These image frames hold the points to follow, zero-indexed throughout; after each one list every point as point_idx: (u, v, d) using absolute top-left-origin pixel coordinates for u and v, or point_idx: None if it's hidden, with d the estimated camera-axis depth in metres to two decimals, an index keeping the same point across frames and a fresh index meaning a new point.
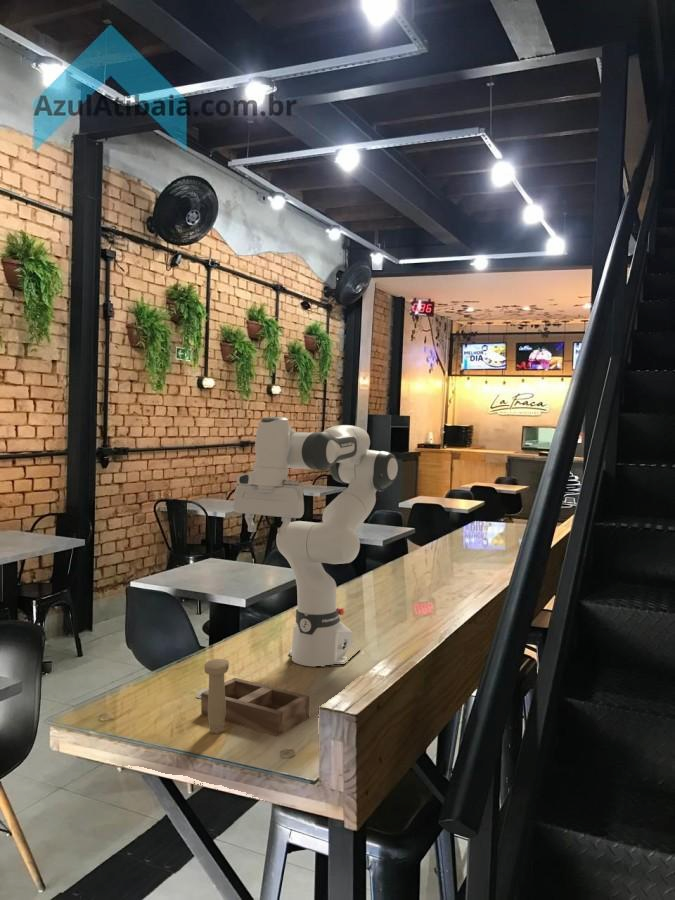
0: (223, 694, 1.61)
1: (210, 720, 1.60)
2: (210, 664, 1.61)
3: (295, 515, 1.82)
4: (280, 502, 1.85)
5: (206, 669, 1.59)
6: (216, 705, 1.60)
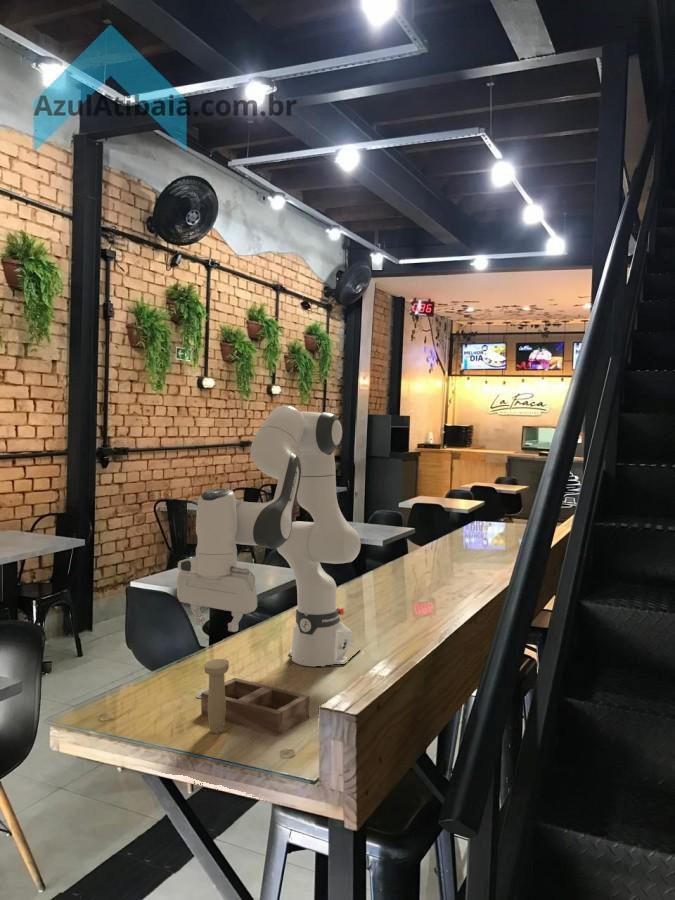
0: (223, 694, 1.61)
1: (210, 720, 1.60)
2: (210, 664, 1.61)
3: (246, 611, 1.54)
4: (229, 594, 1.56)
5: (206, 669, 1.59)
6: (216, 705, 1.60)
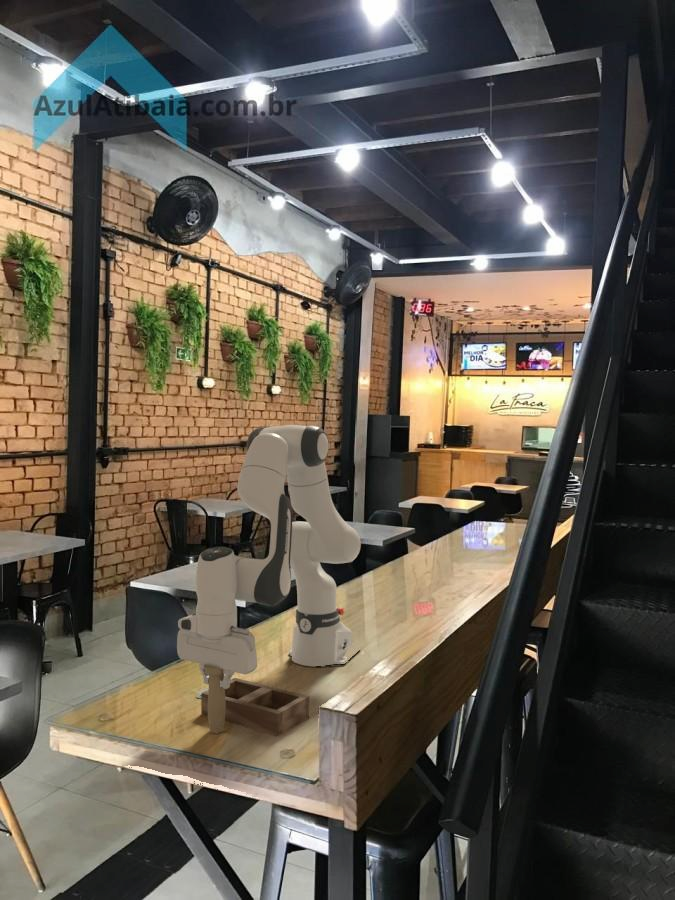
0: (223, 694, 1.61)
1: (210, 720, 1.60)
2: None
3: (246, 671, 1.55)
4: (229, 654, 1.57)
5: (206, 669, 1.59)
6: (216, 705, 1.60)
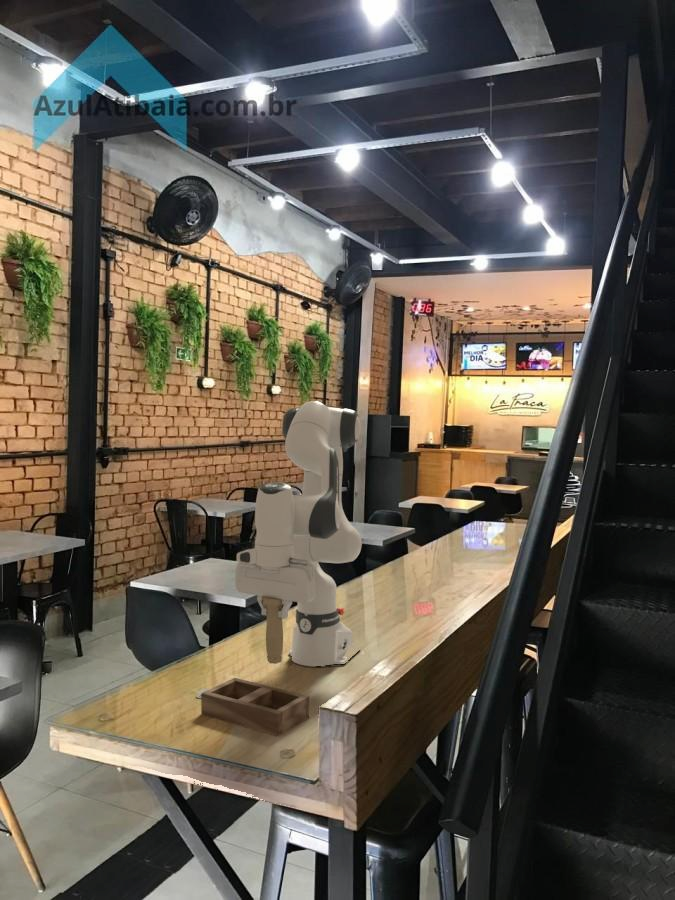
0: (281, 625, 1.66)
1: (269, 650, 1.65)
2: None
3: (306, 600, 1.60)
4: (288, 584, 1.62)
5: (265, 600, 1.63)
6: (274, 635, 1.65)
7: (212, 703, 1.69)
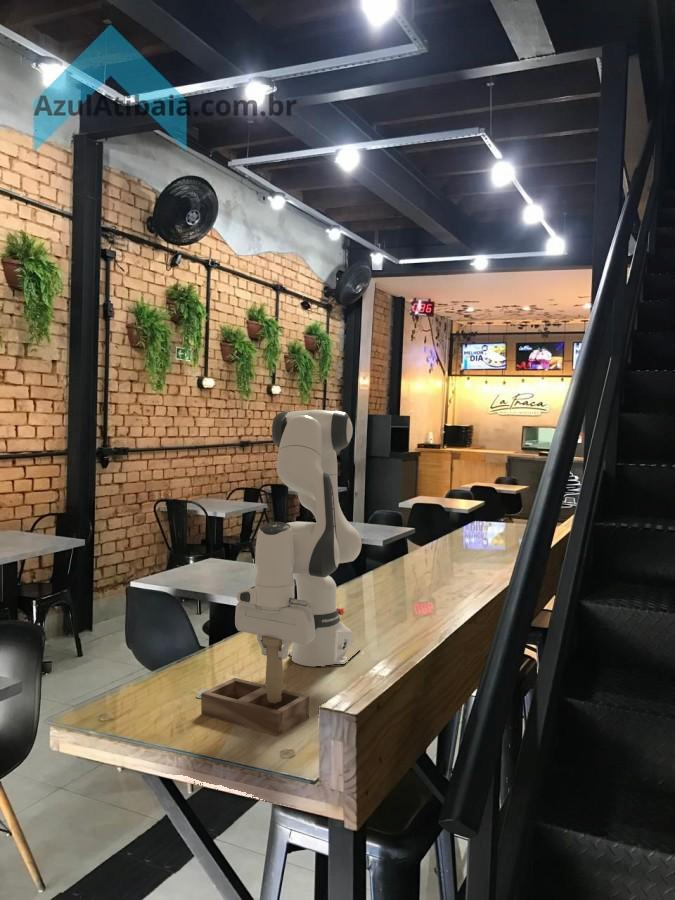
0: (281, 665, 1.66)
1: (268, 690, 1.65)
2: None
3: (306, 641, 1.60)
4: (288, 624, 1.62)
5: (265, 640, 1.64)
6: (274, 675, 1.65)
7: (212, 703, 1.69)
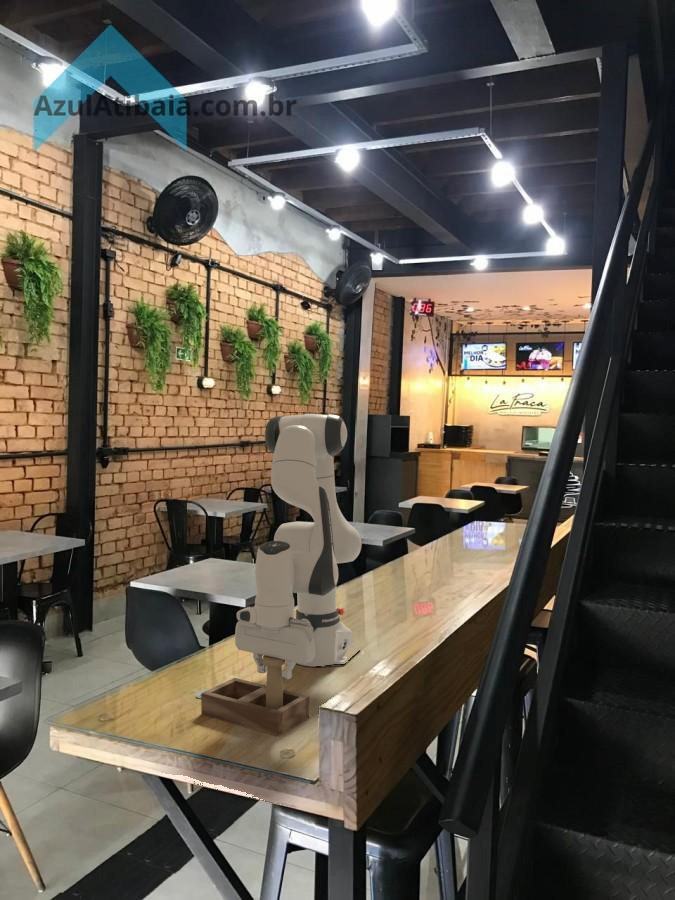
0: (281, 685, 1.66)
1: None
2: (268, 656, 1.66)
3: (306, 661, 1.60)
4: (288, 644, 1.62)
5: (265, 661, 1.64)
6: (274, 695, 1.65)
7: (212, 703, 1.69)
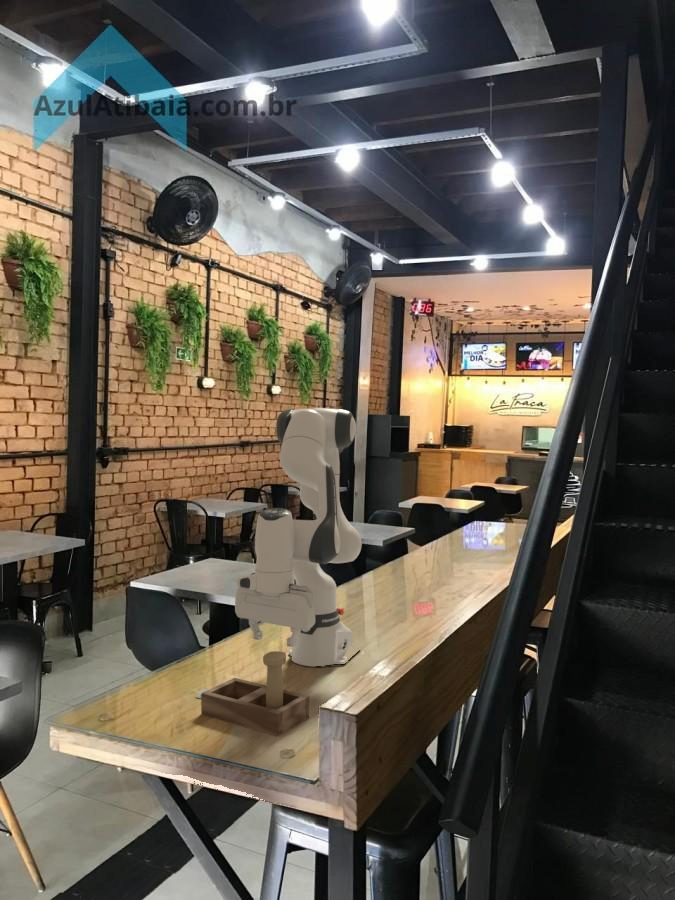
0: (281, 685, 1.66)
1: None
2: (268, 656, 1.66)
3: (306, 627, 1.60)
4: (288, 610, 1.62)
5: (265, 661, 1.64)
6: (274, 695, 1.65)
7: (212, 703, 1.69)
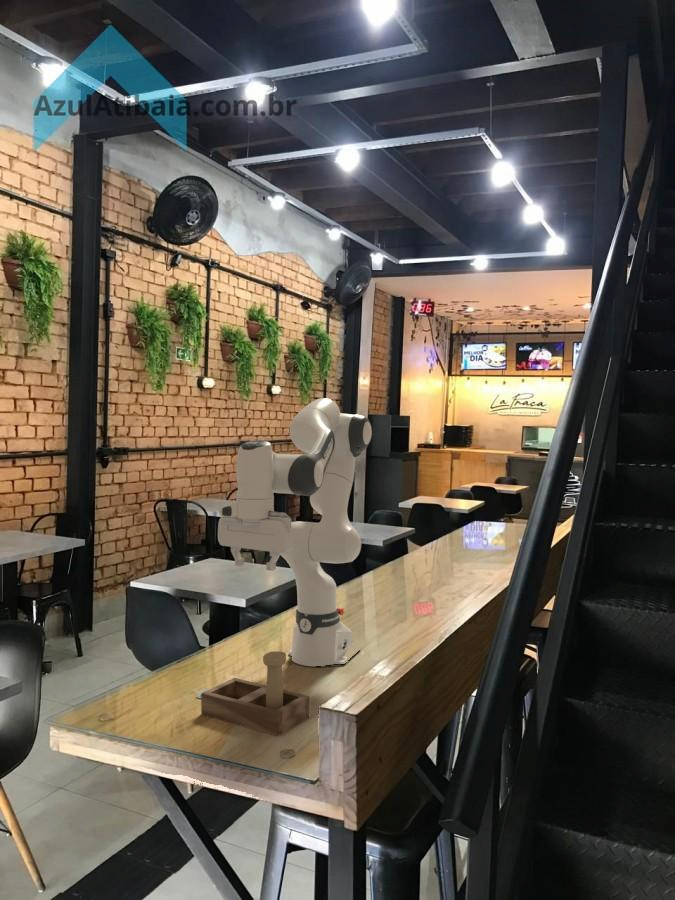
0: (281, 685, 1.66)
1: None
2: (268, 656, 1.66)
3: (284, 550, 1.68)
4: (267, 535, 1.71)
5: (265, 661, 1.64)
6: (274, 695, 1.65)
7: (212, 703, 1.69)
